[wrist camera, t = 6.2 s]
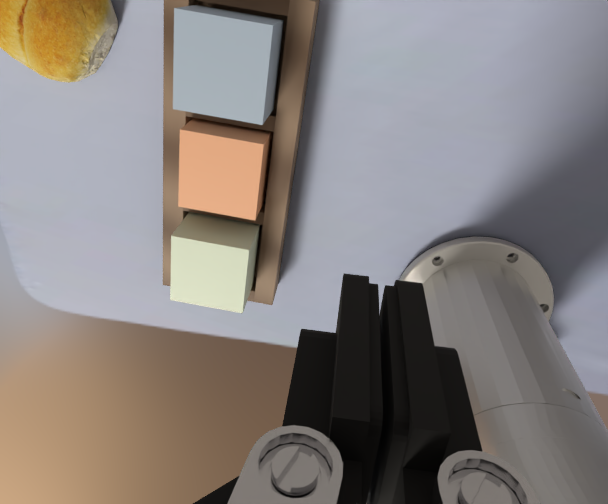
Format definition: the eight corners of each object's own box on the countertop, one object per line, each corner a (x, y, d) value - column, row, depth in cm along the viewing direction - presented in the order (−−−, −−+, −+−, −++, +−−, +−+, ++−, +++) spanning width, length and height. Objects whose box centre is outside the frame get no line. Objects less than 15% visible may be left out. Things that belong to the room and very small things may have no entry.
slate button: (273, 109, 32) (262, 125, 29) (193, 95, 32) (172, 109, 29) (283, 20, 29) (273, 25, 26) (196, 4, 29) (174, 8, 26)
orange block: (265, 197, 37) (255, 220, 33) (195, 185, 37) (178, 206, 33) (273, 127, 34) (263, 144, 31) (198, 114, 34) (179, 129, 31)
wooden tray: (277, 284, 42) (272, 305, 39) (175, 265, 42) (163, 284, 39) (319, -1, 31) (315, 1, 28) (180, -25, 31) (163, -25, 28)
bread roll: (11, -99, 30) (-35, -109, 27) (137, -2, 32) (110, 0, 29) (-27, 19, 34) (-71, 23, 30) (88, 99, 36) (59, 112, 32)
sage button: (253, 283, 39) (242, 313, 36) (187, 271, 39) (170, 299, 36) (260, 224, 36) (249, 250, 33) (189, 211, 36) (171, 235, 33)
